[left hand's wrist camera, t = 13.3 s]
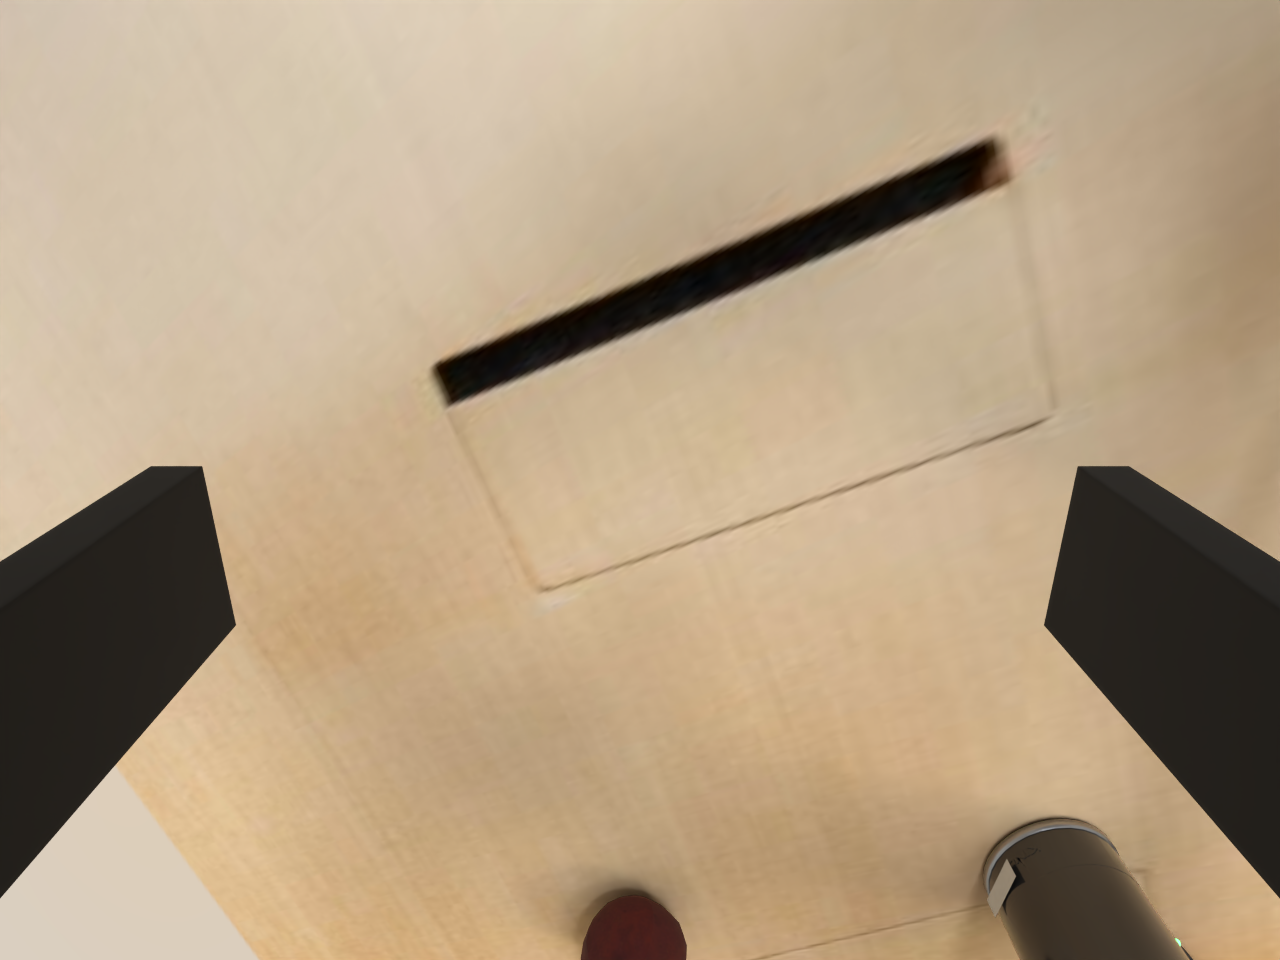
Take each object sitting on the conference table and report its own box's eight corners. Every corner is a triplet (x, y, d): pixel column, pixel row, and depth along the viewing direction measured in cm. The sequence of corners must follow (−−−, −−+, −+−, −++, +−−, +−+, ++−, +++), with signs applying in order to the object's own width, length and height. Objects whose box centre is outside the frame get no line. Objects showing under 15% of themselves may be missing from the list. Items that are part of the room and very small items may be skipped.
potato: (605, 958, 62) (601, 1052, 55) (569, 886, 59) (560, 977, 53) (697, 936, 61) (704, 1029, 55) (665, 862, 58) (668, 951, 52)
